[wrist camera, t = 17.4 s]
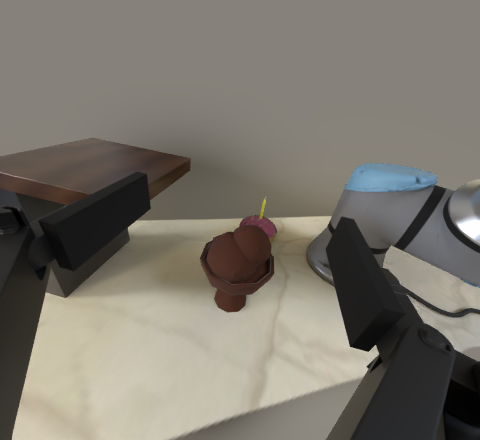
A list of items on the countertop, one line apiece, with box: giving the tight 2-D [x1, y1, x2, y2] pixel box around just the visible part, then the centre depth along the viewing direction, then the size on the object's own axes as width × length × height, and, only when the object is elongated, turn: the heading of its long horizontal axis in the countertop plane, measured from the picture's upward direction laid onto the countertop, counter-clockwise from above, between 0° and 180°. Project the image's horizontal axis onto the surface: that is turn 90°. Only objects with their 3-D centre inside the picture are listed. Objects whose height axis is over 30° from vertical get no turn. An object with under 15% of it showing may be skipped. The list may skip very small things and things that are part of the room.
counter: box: [0, 138, 190, 298], centre depth 32 cm, size 17×16×20 cm
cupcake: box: [240, 196, 277, 242], centre depth 45 cm, size 9×8×12 cm
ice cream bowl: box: [200, 225, 274, 312], centre depth 31 cm, size 11×11×15 cm
